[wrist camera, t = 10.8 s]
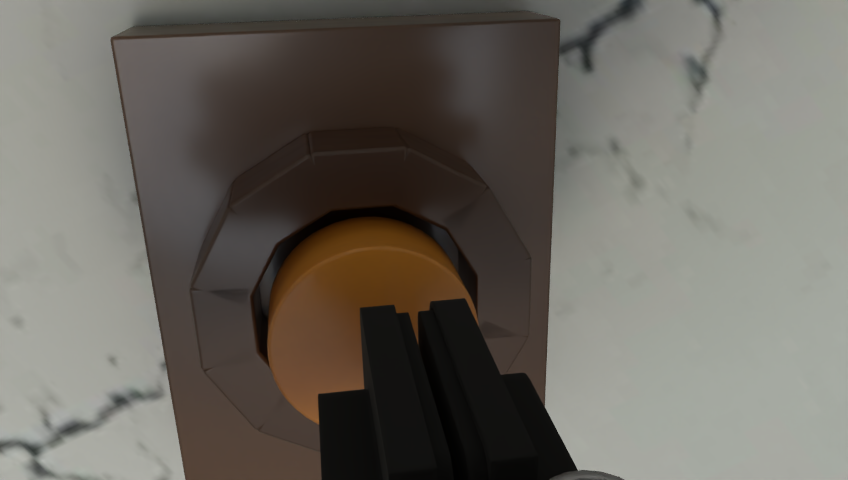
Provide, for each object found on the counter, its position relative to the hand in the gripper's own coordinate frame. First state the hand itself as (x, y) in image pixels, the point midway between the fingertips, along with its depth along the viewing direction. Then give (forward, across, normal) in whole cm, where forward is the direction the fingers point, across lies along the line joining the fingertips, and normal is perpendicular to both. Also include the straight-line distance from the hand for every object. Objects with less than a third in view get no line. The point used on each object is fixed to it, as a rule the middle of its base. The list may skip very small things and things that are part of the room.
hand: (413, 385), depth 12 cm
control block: (+8, 0, +1) cm, 8 cm away
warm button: (+4, 0, +1) cm, 4 cm away
